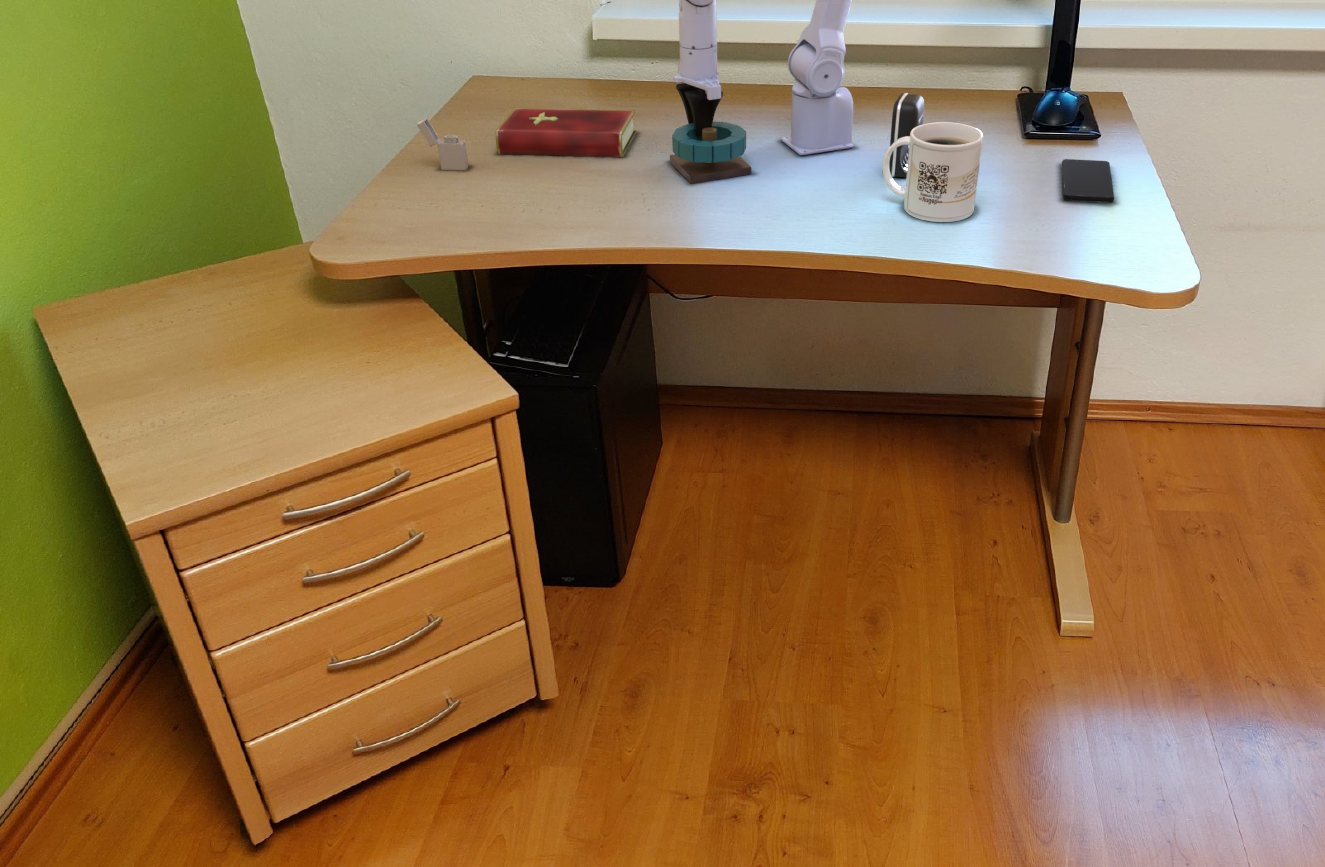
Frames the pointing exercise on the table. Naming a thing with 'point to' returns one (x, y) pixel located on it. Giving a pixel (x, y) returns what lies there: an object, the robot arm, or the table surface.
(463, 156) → the lighter
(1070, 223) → the table surface
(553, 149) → the hardcover book
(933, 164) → the mug
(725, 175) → the stand
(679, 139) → the ring
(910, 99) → the battery charger
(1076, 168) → the smartphone
